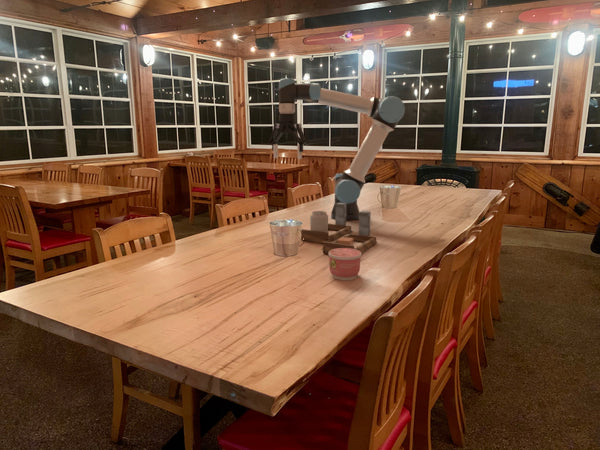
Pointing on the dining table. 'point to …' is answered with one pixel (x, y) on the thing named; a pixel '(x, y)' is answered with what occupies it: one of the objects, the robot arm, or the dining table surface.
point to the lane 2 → (355, 236)
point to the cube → (345, 240)
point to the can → (319, 221)
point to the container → (344, 263)
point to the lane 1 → (324, 236)
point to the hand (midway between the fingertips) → (287, 158)
